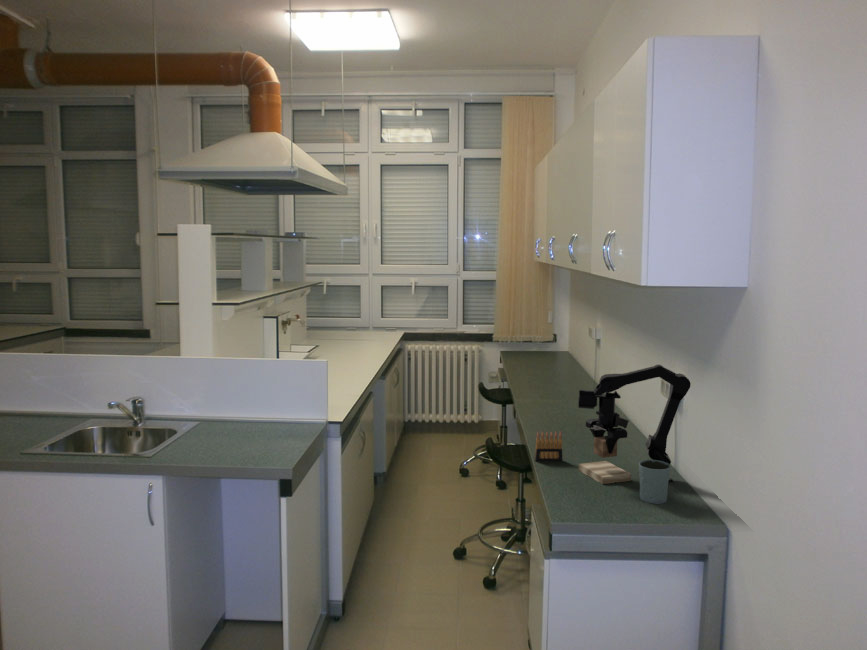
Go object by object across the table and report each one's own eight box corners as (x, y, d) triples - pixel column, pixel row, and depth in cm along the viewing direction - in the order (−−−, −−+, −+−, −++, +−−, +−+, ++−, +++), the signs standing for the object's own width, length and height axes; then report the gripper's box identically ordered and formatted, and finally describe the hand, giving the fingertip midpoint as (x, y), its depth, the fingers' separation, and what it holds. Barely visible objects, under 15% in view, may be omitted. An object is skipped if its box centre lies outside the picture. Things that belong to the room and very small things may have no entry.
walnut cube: (616, 456, 247) (617, 440, 246) (602, 457, 245) (603, 441, 244) (607, 451, 253) (608, 435, 252) (593, 453, 251) (594, 437, 250)
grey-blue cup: (662, 493, 231) (664, 459, 230) (674, 504, 221) (675, 469, 220) (633, 493, 231) (634, 459, 229) (643, 504, 221) (645, 469, 219)
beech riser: (631, 480, 244) (631, 473, 244) (602, 484, 240) (602, 477, 240) (605, 467, 259) (606, 460, 259) (578, 470, 255) (578, 463, 255)
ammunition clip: (535, 461, 266) (536, 431, 264) (534, 460, 267) (535, 430, 266) (562, 461, 266) (563, 431, 265) (561, 460, 268) (562, 430, 266)
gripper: (641, 413, 241) (639, 456, 242) (610, 402, 258) (609, 442, 260) (614, 415, 237) (612, 459, 239) (585, 404, 255) (584, 445, 256)
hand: (605, 451), depth 249 cm, fingers closed on walnut cube, 6 cm apart
